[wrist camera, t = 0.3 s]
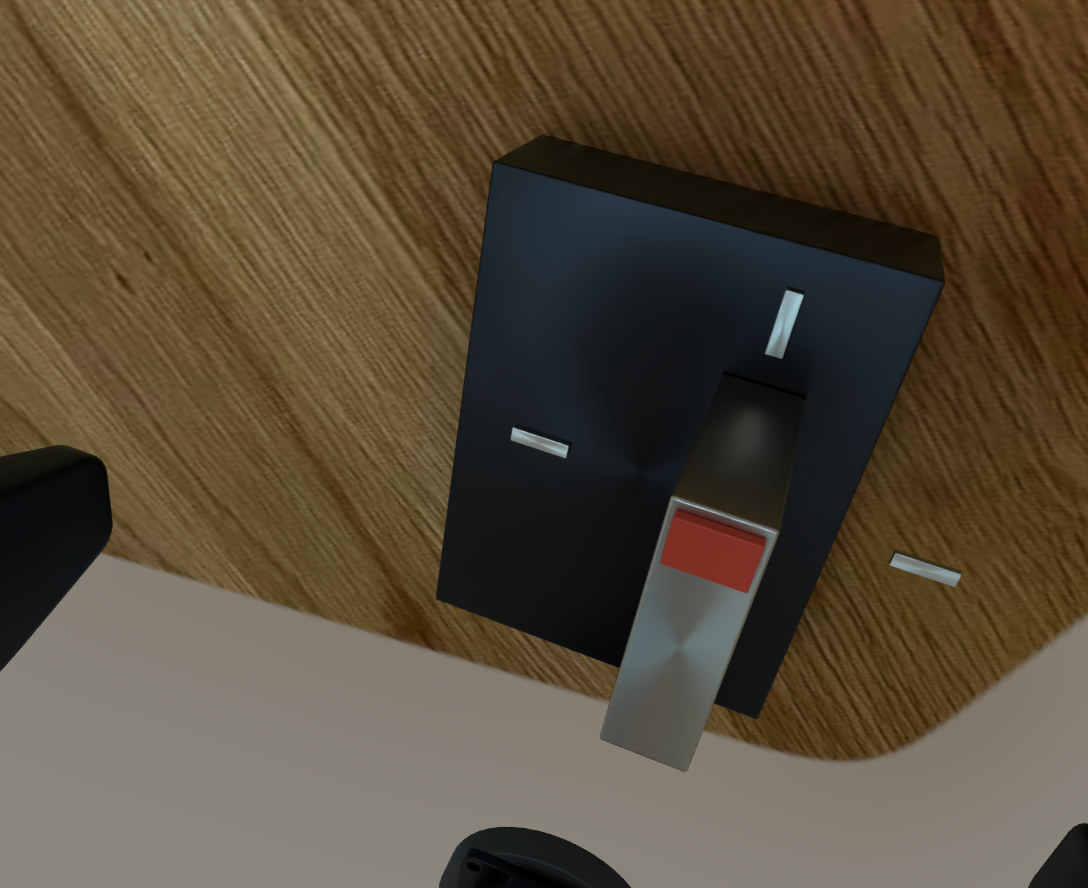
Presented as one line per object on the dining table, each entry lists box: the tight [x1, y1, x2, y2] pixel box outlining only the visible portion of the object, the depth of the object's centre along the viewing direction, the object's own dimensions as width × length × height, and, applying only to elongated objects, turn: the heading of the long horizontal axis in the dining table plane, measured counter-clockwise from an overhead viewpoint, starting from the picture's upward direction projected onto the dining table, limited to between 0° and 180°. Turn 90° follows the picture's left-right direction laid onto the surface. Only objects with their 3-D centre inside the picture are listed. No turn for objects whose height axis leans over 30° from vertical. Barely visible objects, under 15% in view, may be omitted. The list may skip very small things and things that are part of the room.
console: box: [436, 135, 962, 719], centre depth 21 cm, size 12×12×3 cm
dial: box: [600, 374, 806, 772], centre depth 18 cm, size 6×2×5 cm, turn 170°
